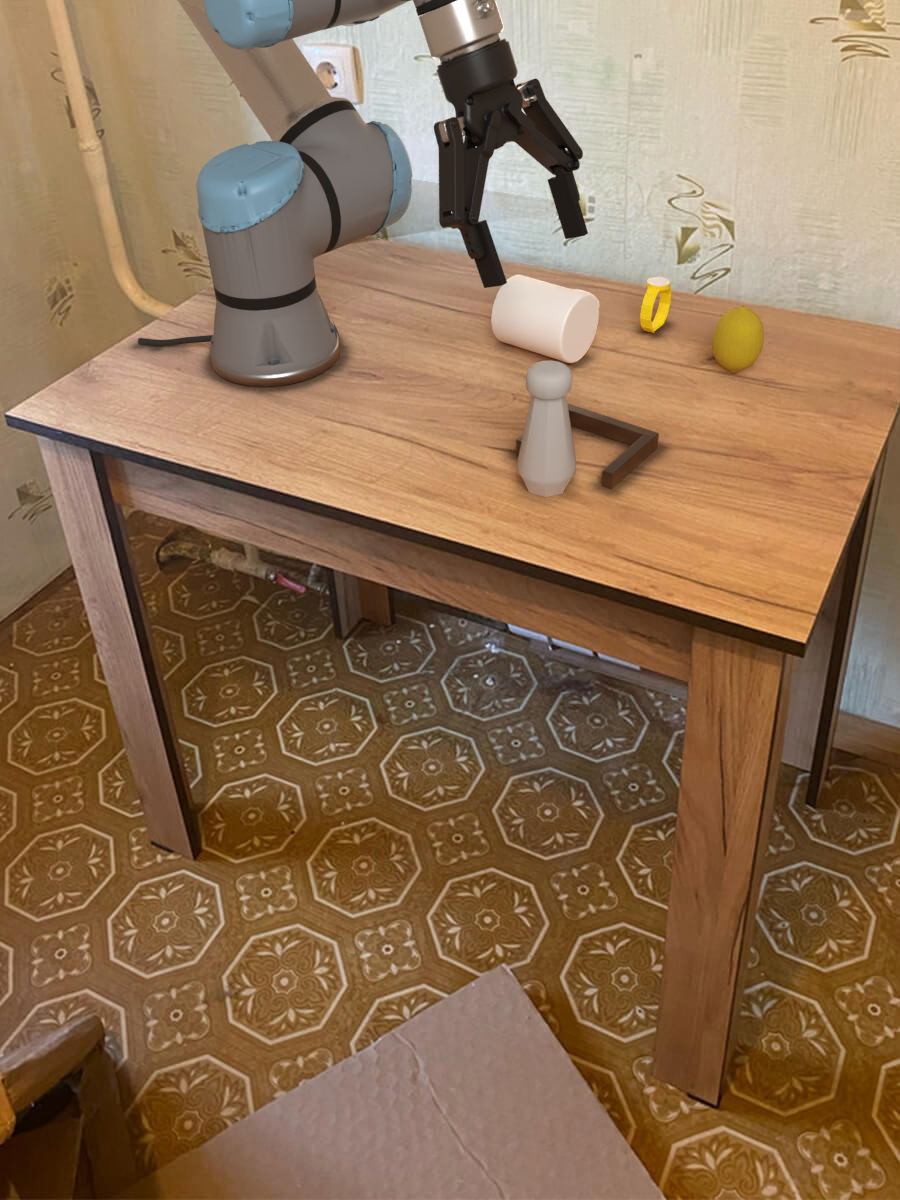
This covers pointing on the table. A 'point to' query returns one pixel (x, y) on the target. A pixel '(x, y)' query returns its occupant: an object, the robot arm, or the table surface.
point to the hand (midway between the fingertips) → (537, 260)
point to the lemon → (738, 339)
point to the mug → (545, 318)
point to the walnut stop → (617, 430)
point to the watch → (649, 299)
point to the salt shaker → (547, 431)
